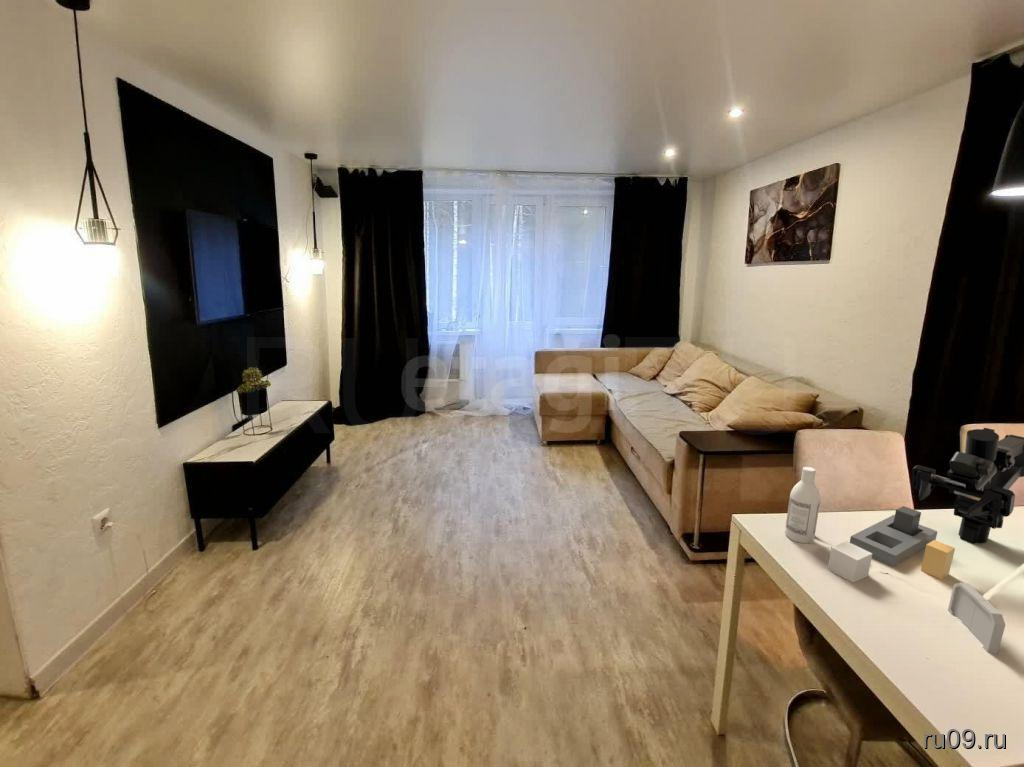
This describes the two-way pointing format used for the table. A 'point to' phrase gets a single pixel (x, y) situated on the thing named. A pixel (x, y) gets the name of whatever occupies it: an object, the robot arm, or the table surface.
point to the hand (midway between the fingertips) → (942, 506)
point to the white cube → (850, 561)
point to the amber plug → (937, 559)
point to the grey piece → (892, 541)
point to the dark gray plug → (906, 520)
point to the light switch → (977, 616)
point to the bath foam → (803, 508)
